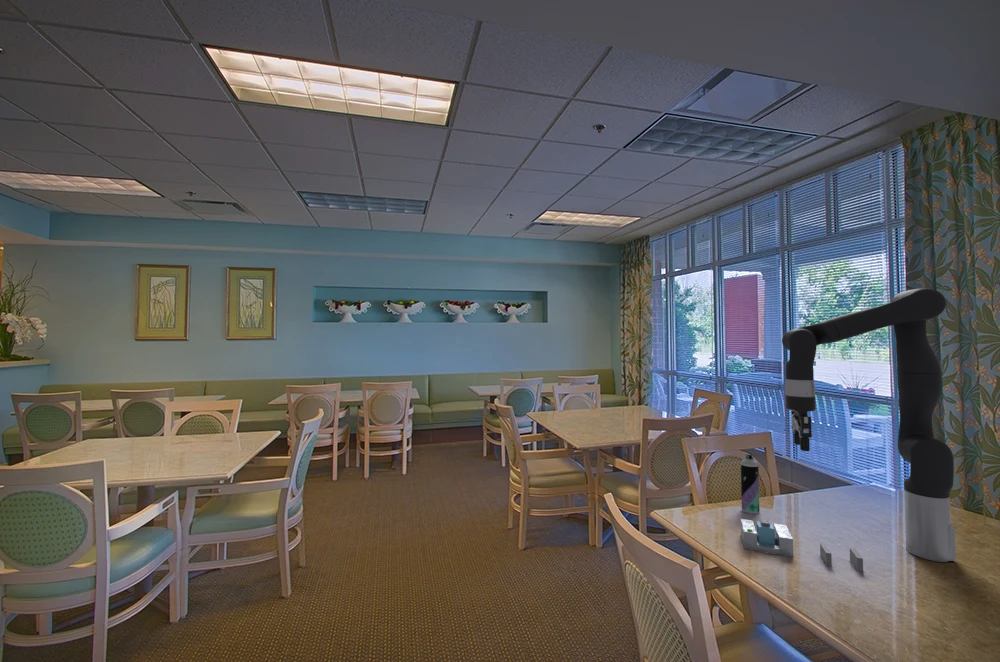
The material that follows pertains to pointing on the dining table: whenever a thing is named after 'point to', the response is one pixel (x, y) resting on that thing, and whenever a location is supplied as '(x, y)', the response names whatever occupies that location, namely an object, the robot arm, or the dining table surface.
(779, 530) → the block
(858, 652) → the dining table surface
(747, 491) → the spray can
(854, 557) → the gray parallel plates
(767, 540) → the plug
